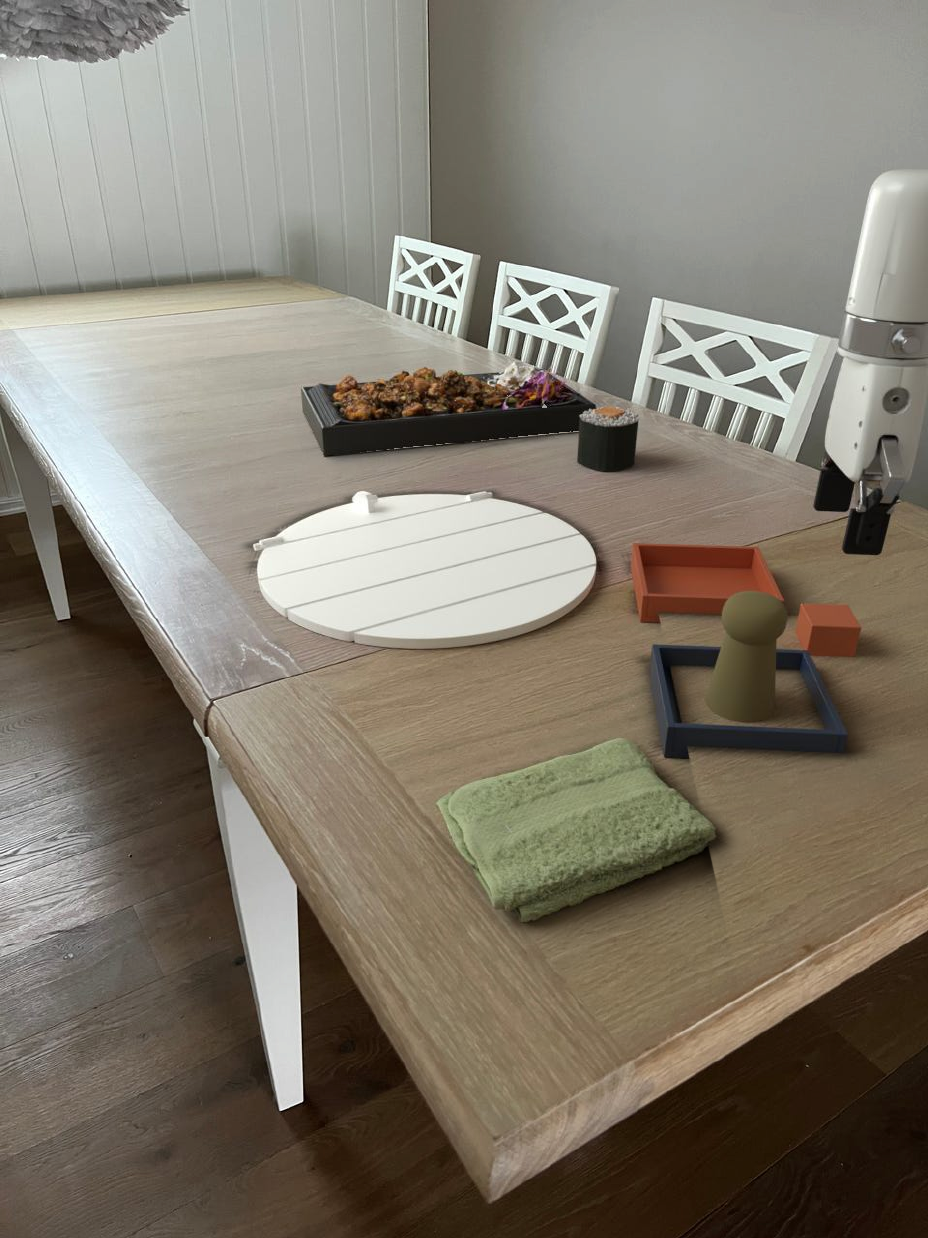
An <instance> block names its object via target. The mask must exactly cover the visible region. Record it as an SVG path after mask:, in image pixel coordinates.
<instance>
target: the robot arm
mask: <svg viewBox="0 0 928 1238" xmlns="http://www.w3.org/2000/svg"><path fill="white" fill-rule="evenodd" d="M863 215H864V216H863V220H862V224H861V225H862V226H861V230H860V233H859V234H860V235H859V239H858V245H857V250H856V253H855V254H856V255H855V259H854V265H853V270H852V275H851V278H850V282H849V283H850V284H849V289H848V294H847V299H846V304H845V309H844V312H843V318H842V322H841V328H840V333H839V336H838V337H839V338H838V343H837V348H836V353H837V354H838V355H839V356H841V357H843V358H842V362H841V366H840V369H839V372H838V377H837V379H836V384H835V388H834V390H833V391H834V392H833V396H832V400H831V404H830V409H829V413H828V417H827V422H826V428H825V436H824V449H825V450H826V451H825V452H824V454H823V456H822V458H821V468H820V471H819V476H818V481H817V485H816V490H815V496H814V500H813V505H812V506H813V509H814V510H815V511H816V512H832V513H847V512H848V511H849V514H848V519H847V522H846V528H845V532H844V536H843V541H842V544H841V550H842V552H843V553H844V554H845V555H859V556H880V555H881V554H882V553H883V548H884V544H885V541H886V537H887V532H888V529H889V524H890V520H891V517H892V515H893V514H894V511H895V509H896V508H895V507H896V504H897V502H898V501H899V500H900V491H901V490H902V488H903V486H904V485H906V484H907V483H908V482H909V481H910V480H911V477H912V475H913V469H914V466H915V460H916V456H917V451H918V447H919V442H920V437H921V432H922V427H923V422H924V416H925V410H926V404H927V397H928V169H925V168H924V169H921V168H920V169H919V168H918V169H917V168H903V169H902V168H901V169H893V170H888V171H885V172H883V173H881V174H880V175H879V176H877V178H876V179H875V180H874V181H873V183H872V185H871V187H870V189H869V193H868V196H867V201H866V205H865V209H864V214H863ZM874 473H875V474H874ZM876 473H878V474H876ZM879 473H881V474H879ZM868 486H873V487H875V486H876V487H875V488H873V489H872V491H871V492H870V493H869V494H868ZM854 490H855V508H854V507H851V502H852V498H853V493H854Z"/></svg>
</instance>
